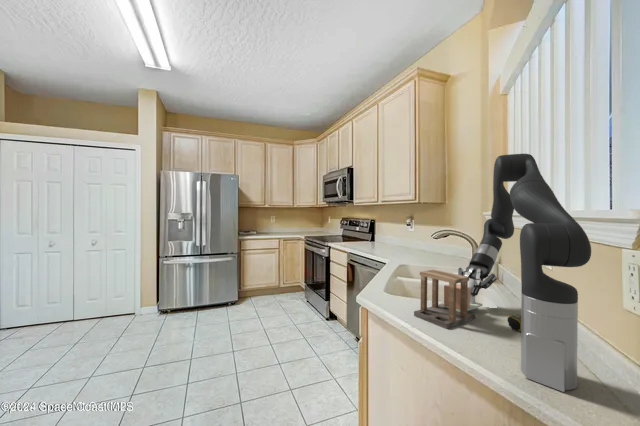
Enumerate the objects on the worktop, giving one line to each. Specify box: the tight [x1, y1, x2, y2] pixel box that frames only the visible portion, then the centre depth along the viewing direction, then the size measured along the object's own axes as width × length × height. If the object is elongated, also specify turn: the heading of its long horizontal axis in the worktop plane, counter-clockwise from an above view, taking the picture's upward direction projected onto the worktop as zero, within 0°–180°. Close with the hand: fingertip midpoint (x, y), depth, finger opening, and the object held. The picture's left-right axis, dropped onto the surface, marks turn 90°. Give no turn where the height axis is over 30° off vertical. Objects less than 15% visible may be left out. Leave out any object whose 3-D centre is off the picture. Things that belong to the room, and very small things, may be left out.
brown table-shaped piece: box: [413, 269, 476, 330], centre depth 89 cm, size 16×13×15 cm
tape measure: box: [507, 314, 521, 333], centre depth 80 cm, size 7×7×4 cm
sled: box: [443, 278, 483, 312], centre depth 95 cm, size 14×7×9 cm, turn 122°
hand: (467, 293), depth 97 cm, fingers closed on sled, 3 cm apart
